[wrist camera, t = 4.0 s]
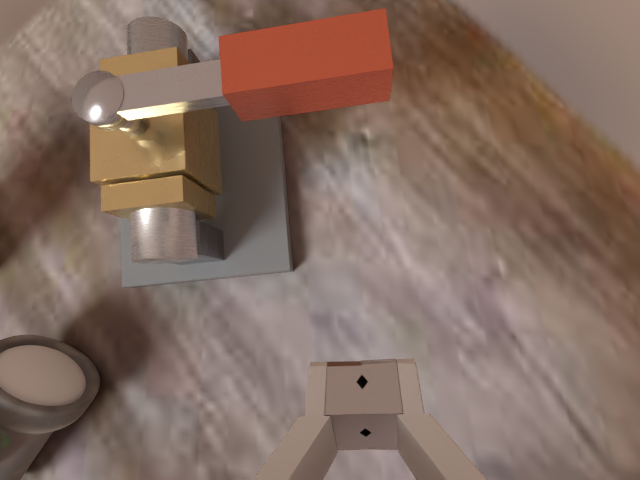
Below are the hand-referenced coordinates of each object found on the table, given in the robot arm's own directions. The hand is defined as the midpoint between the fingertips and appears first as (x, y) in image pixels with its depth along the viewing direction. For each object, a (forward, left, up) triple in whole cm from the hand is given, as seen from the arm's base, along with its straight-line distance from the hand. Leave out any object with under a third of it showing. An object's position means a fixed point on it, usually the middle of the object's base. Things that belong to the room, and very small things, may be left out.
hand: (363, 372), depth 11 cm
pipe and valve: (+5, +18, -18) cm, 26 cm away
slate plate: (+5, +18, -20) cm, 27 cm away
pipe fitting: (-19, +21, -20) cm, 35 cm away
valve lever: (+9, +12, -8) cm, 17 cm away
